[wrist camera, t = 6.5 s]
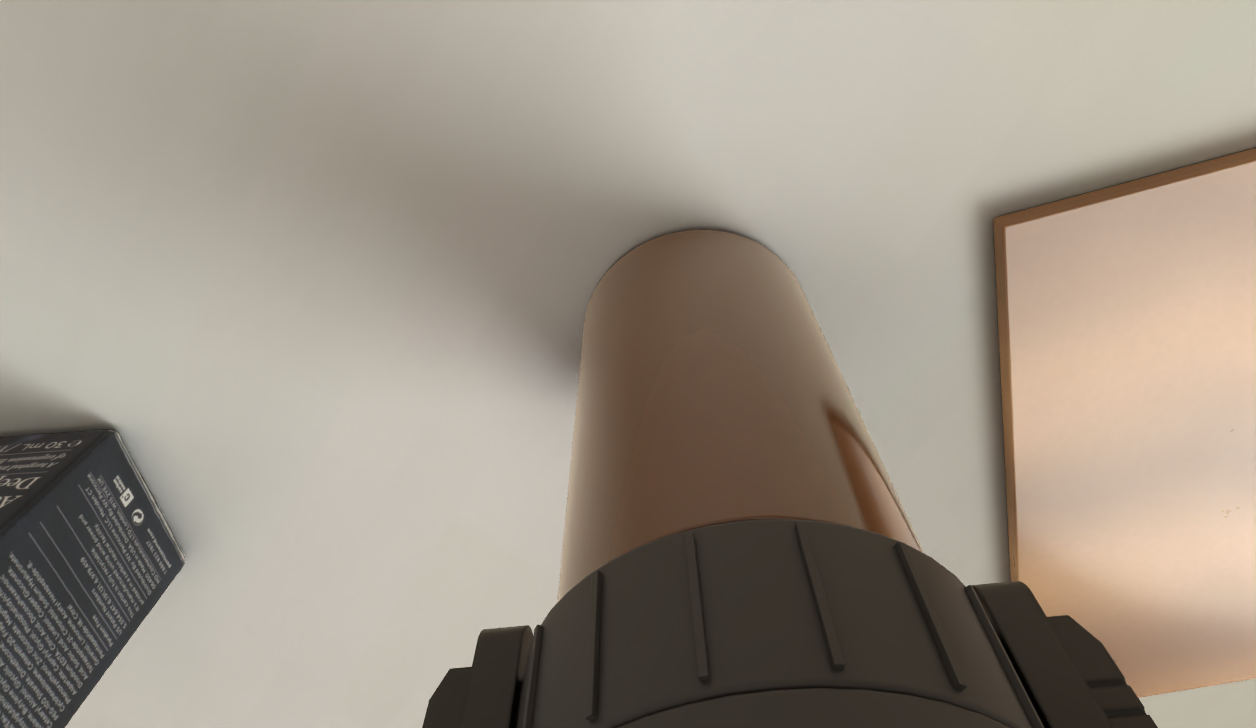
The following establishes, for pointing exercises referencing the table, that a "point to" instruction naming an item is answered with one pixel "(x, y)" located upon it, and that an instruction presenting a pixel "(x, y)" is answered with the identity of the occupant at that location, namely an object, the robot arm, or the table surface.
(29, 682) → the box
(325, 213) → the table surface
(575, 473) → the jar
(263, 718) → the table surface
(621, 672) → the lid
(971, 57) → the table surface
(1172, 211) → the wooden flat board
